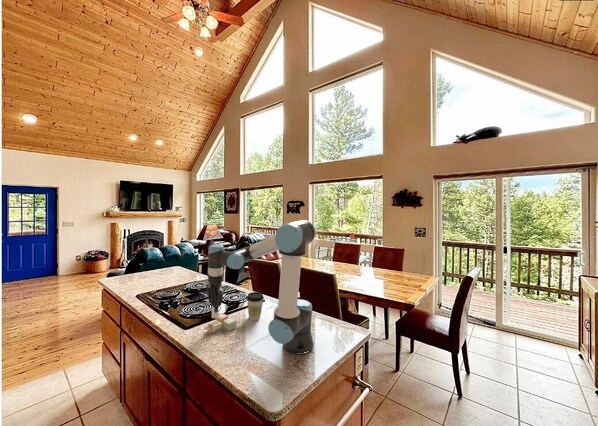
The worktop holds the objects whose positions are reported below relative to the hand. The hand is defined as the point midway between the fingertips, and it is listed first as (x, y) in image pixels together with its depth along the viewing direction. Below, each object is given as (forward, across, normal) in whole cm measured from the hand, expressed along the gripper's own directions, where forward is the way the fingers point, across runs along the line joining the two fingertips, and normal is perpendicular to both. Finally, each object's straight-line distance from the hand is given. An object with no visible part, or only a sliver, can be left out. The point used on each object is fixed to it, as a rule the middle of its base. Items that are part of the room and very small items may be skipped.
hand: (214, 316), depth 152 cm
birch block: (+7, 0, 0) cm, 7 cm away
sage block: (+7, -4, -7) cm, 11 cm away
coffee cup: (+8, -6, -24) cm, 26 cm away
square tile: (+8, 0, -4) cm, 9 cm away
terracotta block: (+7, +3, -7) cm, 11 cm away
